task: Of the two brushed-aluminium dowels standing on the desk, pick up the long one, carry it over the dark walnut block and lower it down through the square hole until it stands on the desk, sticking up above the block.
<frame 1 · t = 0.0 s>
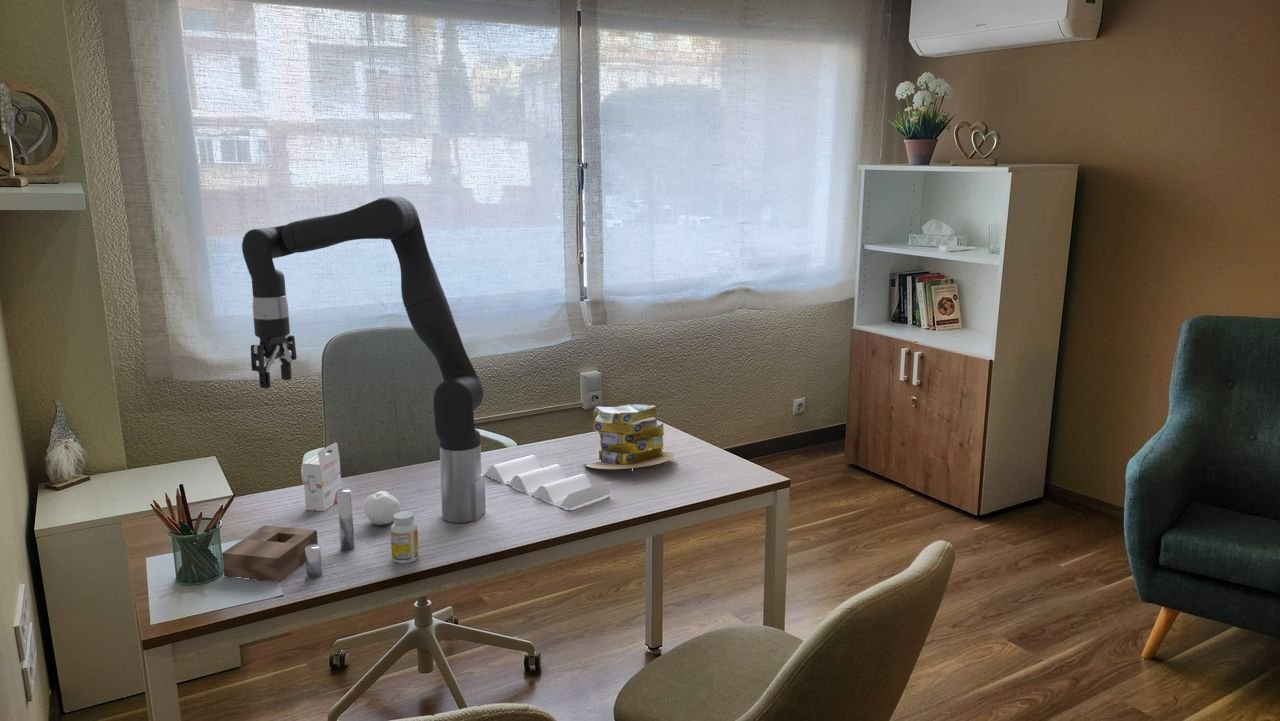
hand: (276, 383, 204), 29 cm above the table, tool pointing down, fingers open, 8 cm apart
short pin: (314, 575, 172), on the table
long pin: (347, 548, 185), on the table
socket block: (272, 564, 177), on the table
supplement bottle: (405, 559, 180), on the table
motion sensor: (382, 524, 198), on the table
ink cartridge box: (324, 505, 209), on the table
white wavy rack: (544, 489, 223), on the table
stack of yellow boxes: (629, 465, 240), on the table
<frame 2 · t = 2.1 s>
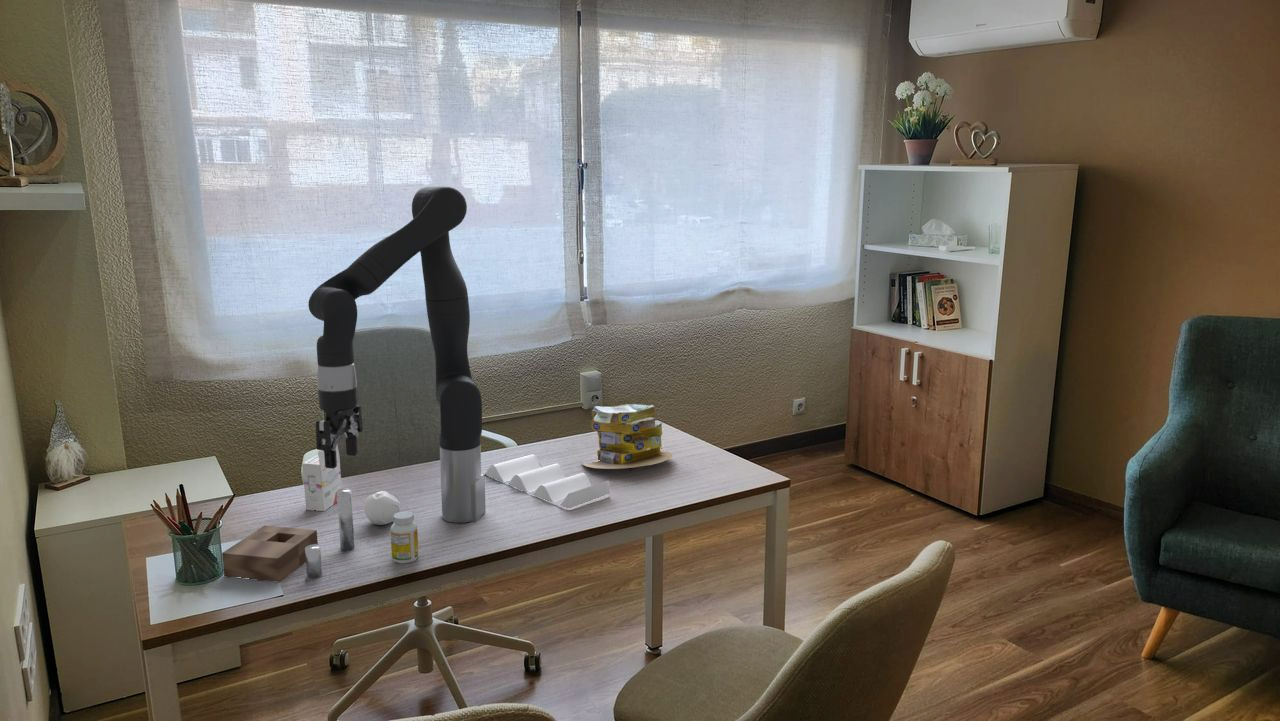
hand: (341, 461, 181), 19 cm above the table, tool pointing down, fingers open, 8 cm apart
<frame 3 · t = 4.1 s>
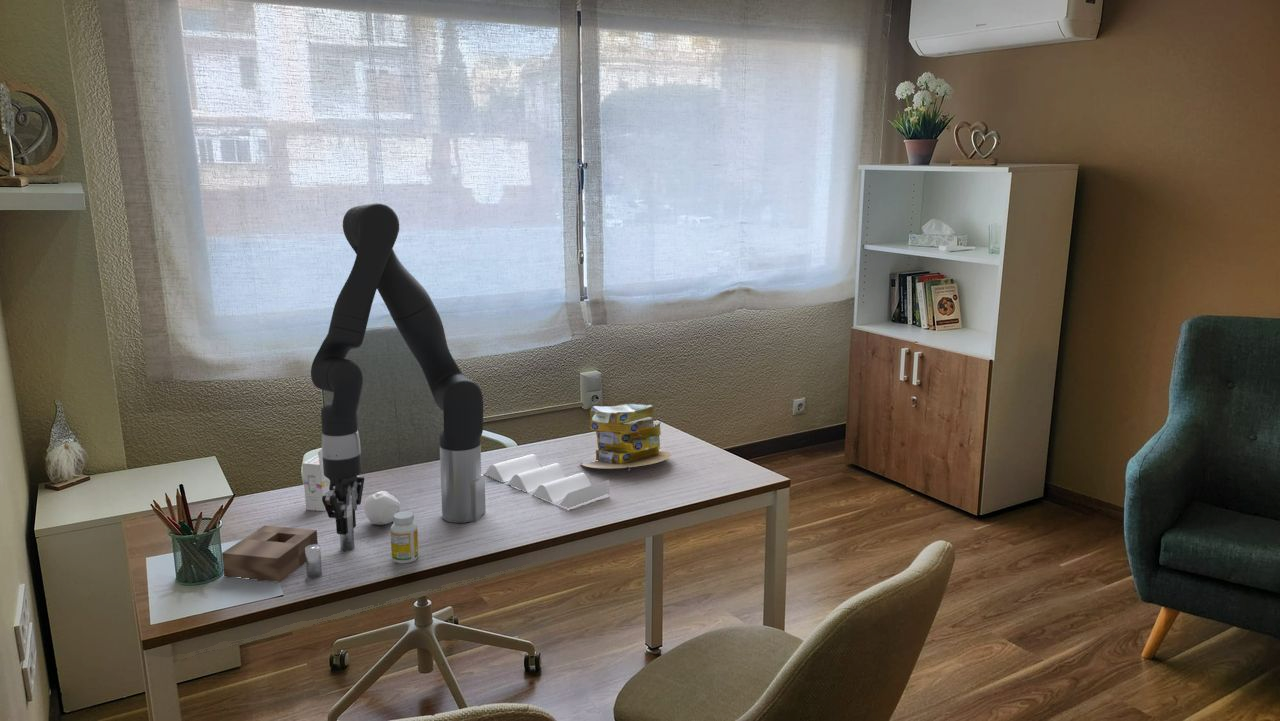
hand: (346, 530, 184), 4 cm above the table, tool pointing down, fingers closed on long pin, 2 cm apart
long pin: (347, 548, 185), on the table, touching gripper
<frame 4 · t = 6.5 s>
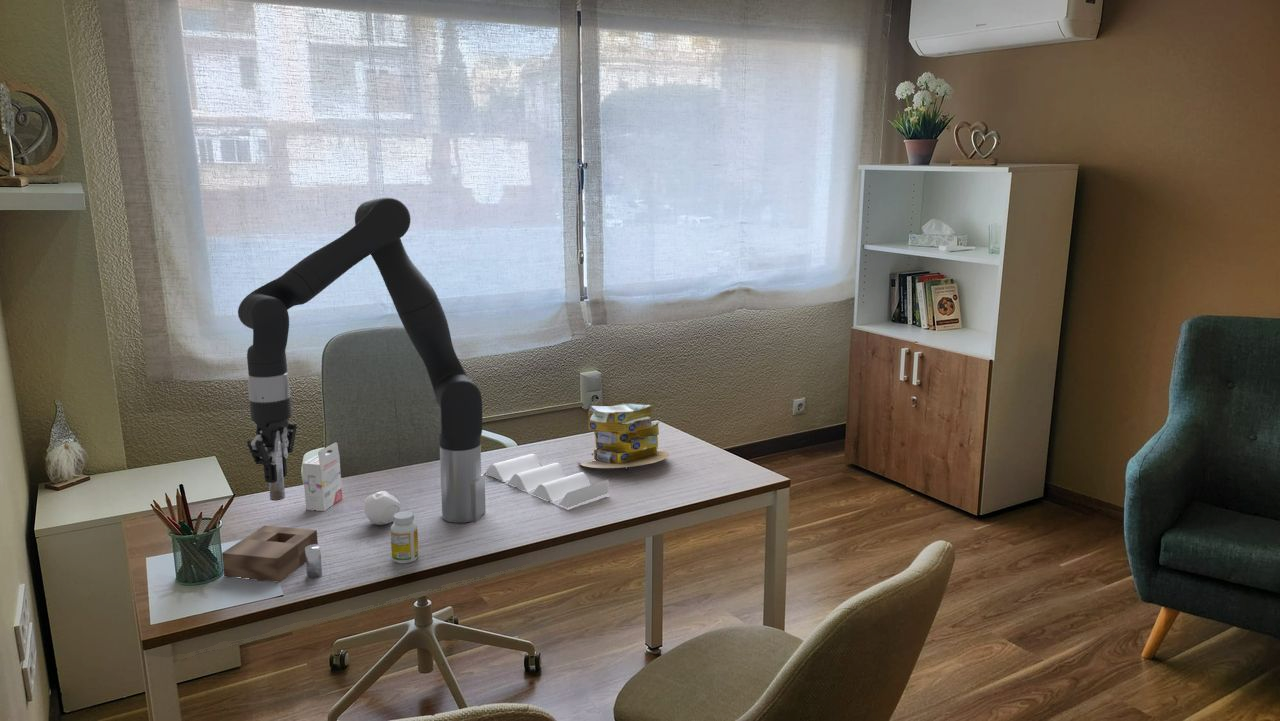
hand: (276, 478, 175), 18 cm above the table, tool pointing down, fingers closed on long pin, 2 cm apart
long pin: (277, 498, 176), point 14 cm above the table, touching gripper
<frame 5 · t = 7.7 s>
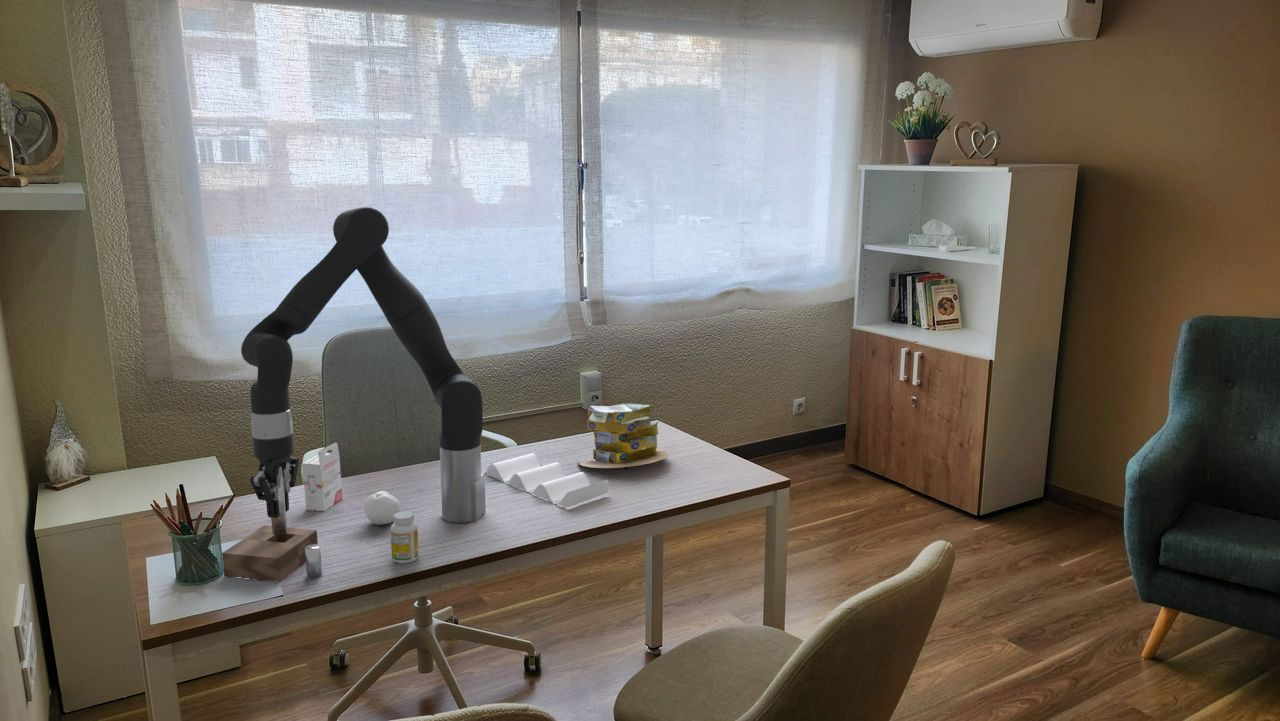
hand: (278, 513, 177), 10 cm above the table, tool pointing down, fingers closed on long pin, 2 cm apart
long pin: (279, 532, 177), point 6 cm above the table, touching gripper
when the fingers open (6 cm above the table, at t = 8.8 s): long pin drops 1 cm, resting in socket block.
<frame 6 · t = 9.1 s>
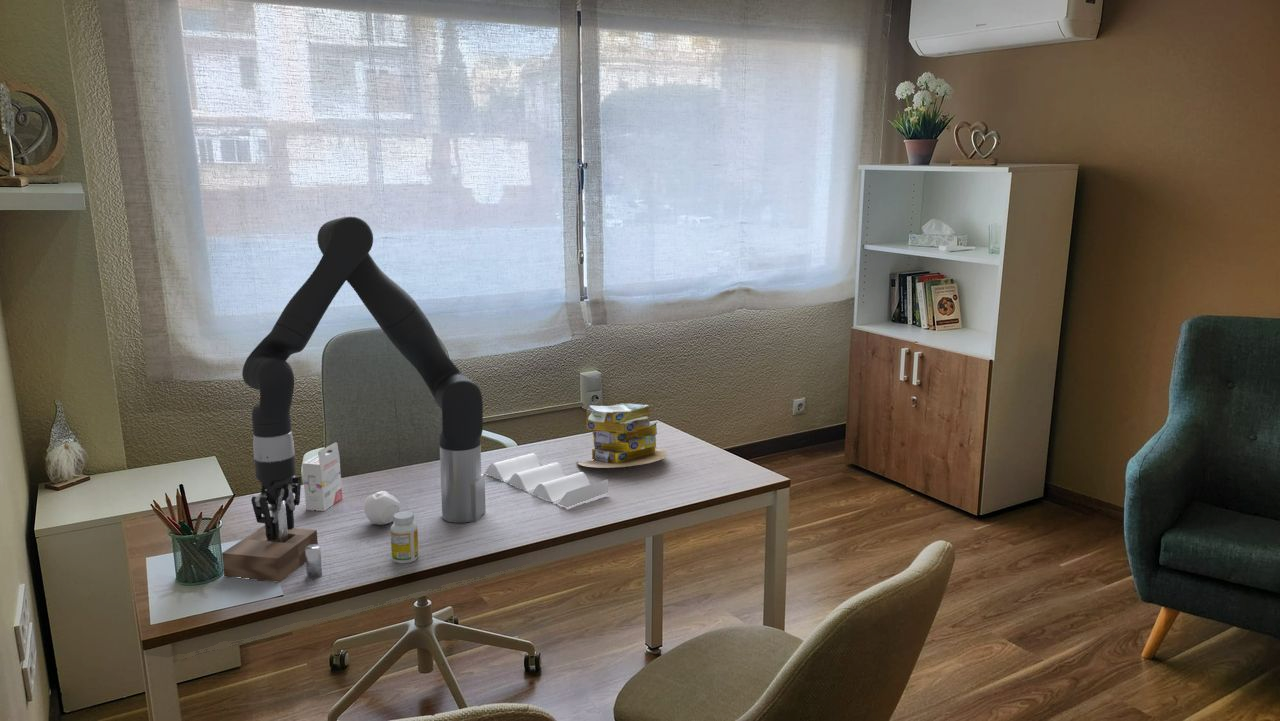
hand: (280, 533, 177), 6 cm above the table, tool pointing down, fingers open, 5 cm apart
long pin: (283, 560, 179), resting in socket block
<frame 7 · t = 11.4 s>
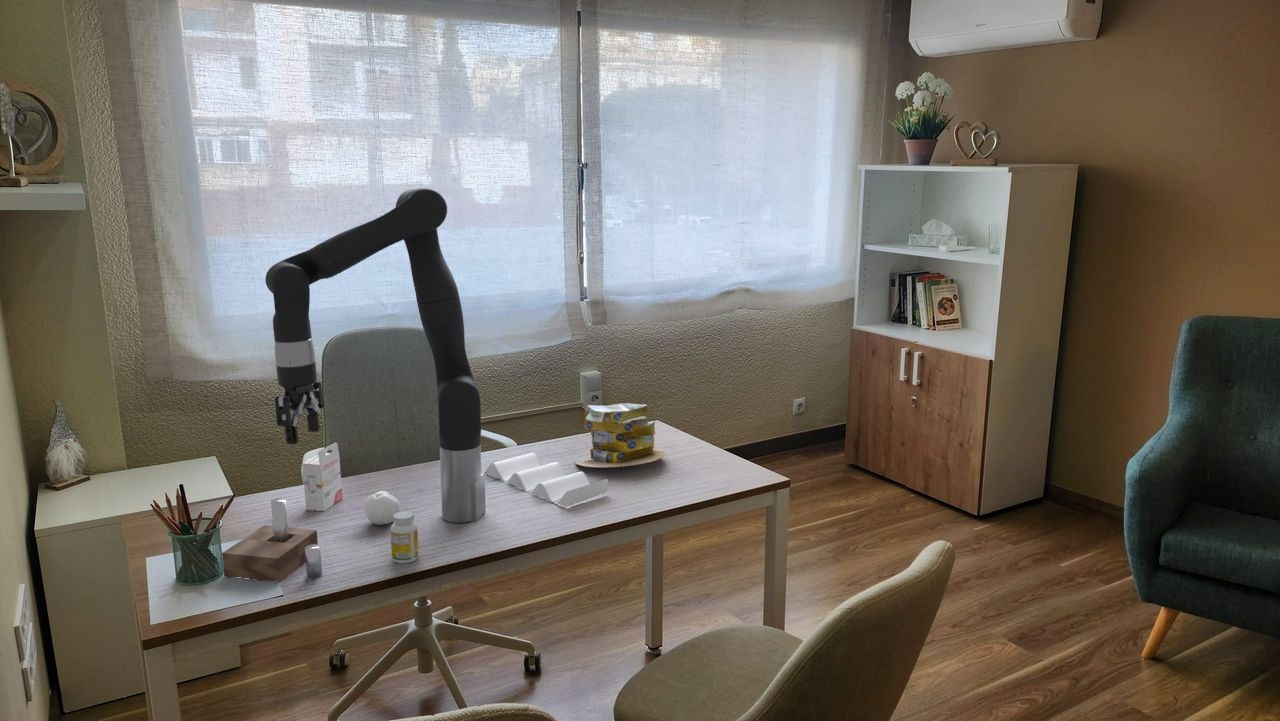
hand: (303, 437, 181), 24 cm above the table, tool pointing down, fingers open, 8 cm apart
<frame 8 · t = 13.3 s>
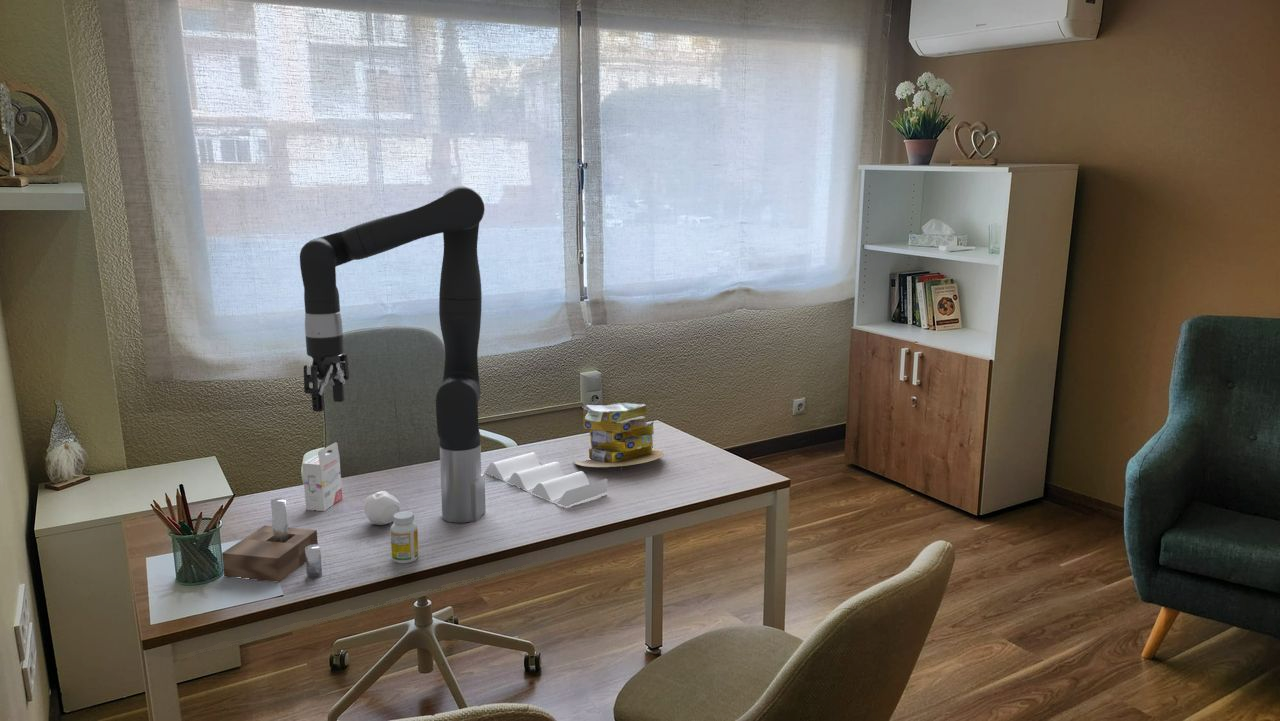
hand: (328, 406, 190), 28 cm above the table, tool pointing down, fingers open, 8 cm apart
at the end: long pin 0.1 cm from the target spot on the socket block, point 0.0 cm above the socket block's base; long pin tilted 0°; the gripper is holding nothing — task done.
